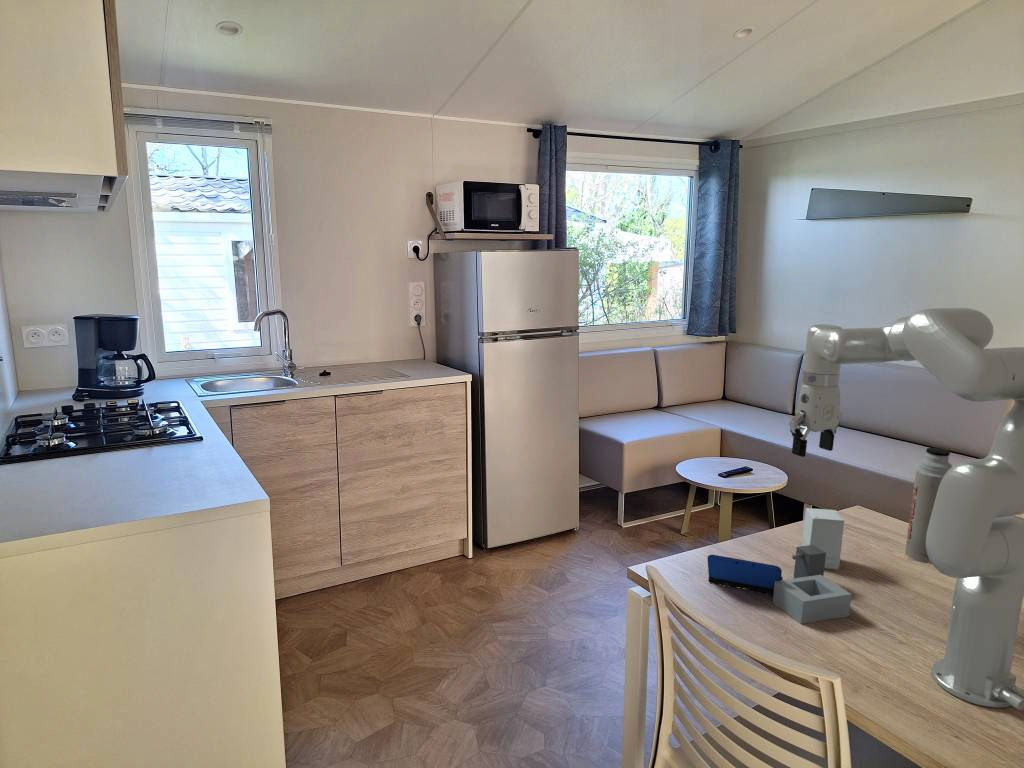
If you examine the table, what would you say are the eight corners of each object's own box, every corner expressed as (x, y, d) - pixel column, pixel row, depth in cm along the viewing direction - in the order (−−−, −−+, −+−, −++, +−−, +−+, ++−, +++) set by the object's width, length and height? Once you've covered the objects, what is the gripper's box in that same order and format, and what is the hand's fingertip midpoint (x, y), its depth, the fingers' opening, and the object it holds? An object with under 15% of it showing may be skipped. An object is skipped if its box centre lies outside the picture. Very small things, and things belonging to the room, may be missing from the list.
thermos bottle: (903, 557, 170) (917, 450, 164) (907, 546, 176) (920, 443, 171) (940, 566, 165) (956, 456, 160) (942, 554, 171) (958, 448, 166)
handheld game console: (782, 580, 157) (786, 543, 156) (778, 607, 145) (782, 567, 144) (713, 567, 164) (716, 531, 162) (704, 591, 152) (707, 553, 150)
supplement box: (839, 570, 162) (845, 520, 160) (806, 567, 164) (811, 518, 161) (831, 557, 169) (837, 509, 167) (800, 554, 171) (805, 507, 168)
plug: (822, 585, 155) (826, 552, 153) (797, 588, 153) (800, 556, 152) (809, 576, 159) (812, 544, 158) (784, 579, 157) (787, 547, 156)
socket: (849, 616, 142) (851, 594, 141) (800, 624, 138) (803, 601, 137) (818, 595, 150) (821, 574, 149) (772, 602, 147) (774, 581, 146)
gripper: (810, 386, 145) (802, 462, 148) (859, 379, 153) (850, 451, 157) (781, 380, 151) (773, 453, 154) (829, 373, 160) (821, 442, 163)
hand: (812, 452), depth 156 cm, fingers open, 9 cm apart
